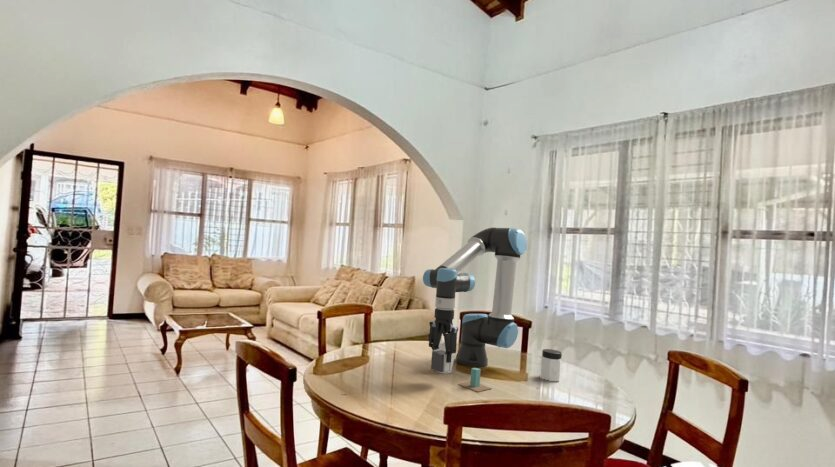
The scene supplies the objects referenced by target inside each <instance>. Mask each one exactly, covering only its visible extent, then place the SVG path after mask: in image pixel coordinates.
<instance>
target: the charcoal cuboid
mask: <svg viewBox="0 0 835 467" xmlns="http://www.w3.org/2000/svg"><path fill="white" fill-rule="evenodd" d="M445 353H446V351H443V350H440V351H433V352H432V351H431V364H430V369H431V370H432V371H433V370H434V371H436V372H437V371H438V372H445V371H443V365H444V354H445ZM450 363H451V362H450ZM449 371H450V369H449ZM438 372H437V373H438Z"/></svg>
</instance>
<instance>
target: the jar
mask: <svg viewBox="0 0 835 467" xmlns="http://www.w3.org/2000/svg"><path fill="white" fill-rule="evenodd" d="M541 352H542V353H541V354H542V355H541V363H540V374H539V376H540V377H539V378H540V379H541V378H542V380H544V379H545V380H544V381H547V380H549V381H548V382H556V381H558V380H559V379H561V367H562V366H561V365H562V351H560V350H556V349H552V348H551V349H550V348H545V349H543V348H542V351H541ZM559 381H560V380H559Z"/></svg>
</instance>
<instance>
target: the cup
mask: <svg viewBox="0 0 835 467" xmlns="http://www.w3.org/2000/svg"><path fill="white" fill-rule="evenodd" d="M437 350H438V349H437ZM439 350H443V351H446V349H445V341H443V340H442V341H441V340H440V343H439ZM455 358H456V353H452V355H451V363H450V371H445V372H438V371H436V373H439V374H444V375H447V374H452V369H453V365H454V361H455Z"/></svg>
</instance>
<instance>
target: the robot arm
mask: <svg viewBox="0 0 835 467" xmlns="http://www.w3.org/2000/svg"><path fill="white" fill-rule="evenodd" d="M527 242H528V241H527V237H526V235H525V233H524V232H523V231H522V230H521V229H519V228H513V227H512V228H511V227H489V228H485V229H482V230H481V231H479V232H477V233H475V234H474V235H473V236H471V237H470V238H469V239H468V241H467V242H466V244H465V245H463V246H462V247H461V248H460V249H458V250H457V251H456V252H455V253H453V254H452V255H451V256H450V257H449V258H447V259H445V261H444V262H443V263H441V264H440V265H439V266H437V267H436V268H434V269H433V268H432V269H431V268H430V269H426V270H425V271H424V273H423V275H422V281H423V284H424V286H426V287H429V288H432V289H436V292H435V293H436V294H435V303H434V304H435V305H434V307H435V309H434V315H433V316H434V318H435V320H434V321H429V324H428V325H429V335H428V336H429V337H428V347H429V348H431V353H432V352H433V351H440V350H439V343H440V341H441V340H442V336H443V339H444V342H445V349H446V353H445V354H444V365H443V371H449V369H450V362H451V355H452V353H455V362H456V364H457V363H458V364H459V365H463V366H466V367H468V366H469V367H472V368H477V367H478V368H479V367H486V366H488V362H489V359H488V356H487V350H486V344H487V345H490V346H494V347H497V348H503V349H504V348H505V349H508V348H511V347H512V346H513V345H514V344H515V343H516V341H517V338H518V334H519V328H518V324H517V323H515V318H514V316H513V315H512V308H513V299H514V298H513V297H514V289H515V280H516V279H515V278H516V268H517V262H518V261H520V260H521V255H524V254H525V253H526V251H527V247H528V246H527V244H528V243H527ZM486 253H494V257H495V259H496V260H497V261H496V269H495V280H494V288H493V289H494V290H493V291H494V292H493V300H492V310H491V312H490V313H489V314H486V313H468V314H467V313H466V314H464V315H463V317H462V322H461V332H460V333H461V335H460V337H461V338H460V345H459V348H458V350H457V339H458V338H457V337H458V332H459V327H458V326H454V324H453V323H454V322H453V320H454V318H455V308H456V307H455V305H456V304H455V303H456V293H468V292H470V291H472V290H473V289H475V286H476V279H475V277H474V275H473V274H472V273H468V272H463V273H462V272H461V271H462V270H464V268H466V267H467V266H468V265H469V264H471V262H473V261H474V260H475V259H476V258H477V257H478V256H479V257H480V256H483V255H484V254H486ZM437 349H438V350H437ZM456 353H457V354H456Z"/></svg>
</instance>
